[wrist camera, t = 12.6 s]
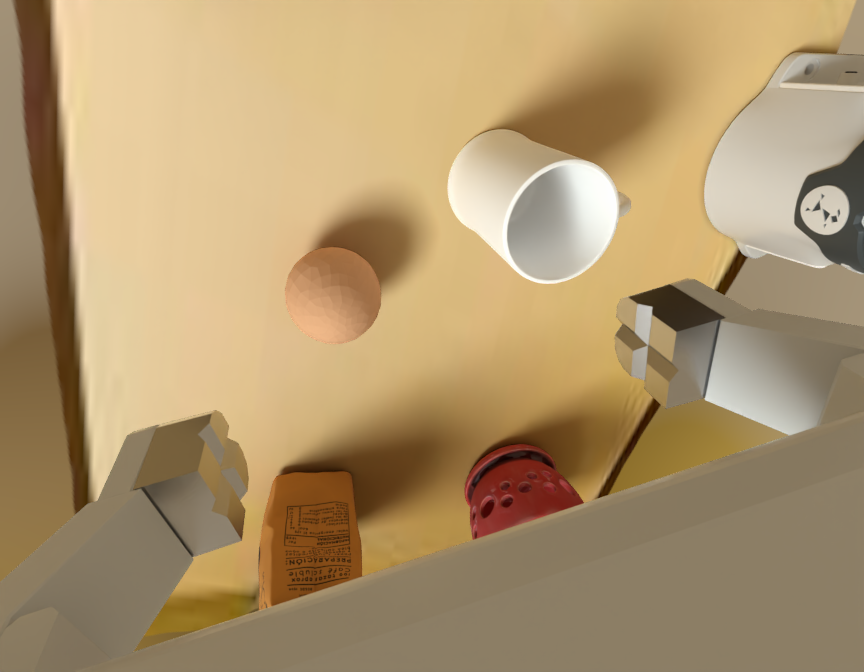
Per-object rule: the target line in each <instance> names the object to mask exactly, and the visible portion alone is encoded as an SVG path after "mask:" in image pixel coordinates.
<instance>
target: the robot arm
mask: <svg viewBox="0 0 864 672" xmlns="http://www.w3.org/2000/svg"><path fill="white" fill-rule="evenodd" d="M805 69H806V70H805ZM704 201H705V208H706V212H707V215H708V217H709V219H710V221H711V223H712V224H713V226H714V227H715V228H716V229H717V230H718V231H719V232H721V233H722V234H724V235H726V236H728V237H730V238H732V239H733V240H735V241H736V243H737V245H738V247H739V249H740V251H741V253H742V254H743V255H745V256H747V257H751V258H759V257H761V256H764V255H766V254H768V253H770V254H773V255H776V256H779V257H782V258H785V259H789V260H792V261H795V262H799V263H802V264H805V265H808V266H811V267H816V268H824V267H826V266H827V265H831V264H834V263H836V264H839V265H842V266H844V267H846V269H849V270H851V271H854V272H856V273H860V274H864V55H853V54H829V53H805V52H795V53H792V54H790V55H789V56H788V57H786V58H785V60H784V61H783V62H782V63H781V65H780V66H779V67H778V69H777V70H776V72H775V73H774V75H773V77H772V78H771V80H770V81H769V83H768V85H767V86H766V88H765V89H764V90H763V91H762V92H761V93H760V94H759V95H758V96H757V97H756V98H755V99H754V100H753V101H752V102H751V103H750V104H749V105H748V106H747V107H746V108H745V109H744V110H743V111H742V112H741V113H740V114H739V115H738V116H737V117H736V118H735V120H734V121H733V122H732V123H731V125H730V126H729V128H728V129H727V130H726V132H725V133H724V135H723V137H722V138H721V140H720V142H719V144H718V146H717V148H716V150H715V152H714V154H713V157H712V159H711V162H710V165H709V168H708V171H707V176H706V181H705V189H704ZM616 317H617V319H618V320H619V321H620V322H621V323H622V326H621V327H620V329H619V330H618V332H617V333H616V335H615V350H616V354H617V357H618V360H619V362H620V364H621V365H622V367H623V368H624V370H625V371H626V372H627V373H628V374H629V375H630V376H632V377H635V378H639V379H642V380H645V384H644V389H645V390H646V391H647V392H648V393H649V394H650V395H651V396H652V397H654V398H655V399H656V400H657V401H658V402H659V403H660V404H661V405H662V406H663V407H664V408H665V409H667V408H670V407H674V406H678V405H681V404H685V403H688V402H692V401H695V400H699V399H703V398H705V400H706V401H709V402H711V403H714V404H716V405H718V406H721V407H723V408H726V409H728V410H731V411H733V412H735V413H738V414H740V415H742V416H745V417H747V418H750V419H752V420H755V421H757V422H759V423H762V424H764V425H766V426H769V427H771V428H774V429H776V430H778V431H781V432H783V433H786V434H788V435H789V436H786V437H783V438H780V439H777V440H774V441H771V442H768V443H765V444H762V445H759V446H756V447H753V448H750V449H747V450H744V451H742V452H738V453H735V454H732V455H729V456H726V457H723V458H720V459H717V460H714V461H711V462H708V463H705V464H702V465H699V466H695V467H692V468H690V469H686V470H683V471H680V472H677V473H674V474H671V475H668V476H665V477H662V478H659V479H656V480H653V481H650V482H647V483H644V484H641V485H638V486H635V487H632V488H629V489H626V490H622V491H620V492H616V493H613V494H610V495H607V496H604V497H601V498H598V499H595V500H592V501H589V502H586V503H583V504H580V505H577V506H574V507H571V508H568V509H565V510H562V511H559V512H556V513H553V514H550V515H547V516H544V517H541V518H538V519H535V520H532V521H529V522H526V523H522V524H519V525H516V526H513V527H510V528H507V529H504V530H501V531H498V532H495V533H492V534H489V535H486V536H483V537H480V538H477V539H474V540H471V541H468V542H465V543H462V544H459V545H456V546H453V547H450V548H447V549H444V550H441V551H438V552H435V553H432V554H429V555H426V556H423V557H420V558H417V559H414V560H411V561H408V562H404V563H401V564H398V565H395V566H392V567H389V568H386V569H383V570H380V571H377V572H374V573H371V574H368V575H365V576H362V577H359V578H356V579H353V580H350V581H347V582H344V583H341V584H338V585H335V586H332V587H329V588H326V589H323V590H320V591H317V592H314V593H311V594H308V595H305V596H302V597H298V598H295V599H292V600H289V601H286V602H283V603H280V604H277V605H274V606H271V607H268V608H265V609H262V610H259V611H256V612H253V613H250V614H247V615H244V616H241V617H238V618H235V619H232V620H229V621H226V622H223V623H220V624H217V625H214V626H211V627H208V628H205V629H202V630H199V631H196V632H193V633H189V634H186V635H184V636H180V637H177V638H174V639H171V640H169V641H165V642H162V643H159V644H156V645H153V646H150V647H147V648H144V649H141V650H138V651H135V652H133V651H134V650H135V648H136V647H137V645H138V643H139V642H140V640H141V639H142V637H143V636H144V634H145V633H146V631H147V630H148V628H149V627H150V625H151V624H152V622H153V621H154V619H155V618H156V616H157V615H158V613H159V612H160V610H161V609H162V607H163V606H164V604H165V603H166V601H167V599H168V598H169V596H170V595H171V593H172V592H173V590H174V589H175V587H176V586H177V584H178V583H179V581H180V580H181V578H182V577H183V575H184V574H185V572H186V571H187V569H188V568H189V566H190V564H191V563H192V561H193V558H192V557H195V556H198V555H201V554H204V553H207V552H210V551H213V550H216V549H219V548H222V547H224V546H227V545H230V544H233V543H236V542H239V541H242V535H243V526H244V518H245V508H244V507H243V505H242V503H241V501H240V500H241V498H242V497H243V496H244V495H245V493H246V492H247V491H248V480H249V477H248V469H247V463H246V460H245V457H244V454H243V451H242V449H241V448H240V446H239V444H238V443H237V442H235V441H233V440H231V439H229V438H227V435H228V429H229V425H228V423H227V422H226V420H225V418H224V416H223V415H222V413H221V412H219V411H217V410H214V411H210V412H206V413H202V414H198V415H194V416H190V417H187V418H183V419H179V420H175V421H171V422H167V423H163V424H161V425H155V426H152V427H148V428H144V429H141V430H137V431H134V432H132V433H131V434H129V435H127V437H126V439H125V441H124V443H123V446H122V448H121V450H120V452H119V454H118V457H117V459H116V461H115V463H114V465H113V468H112V470H111V472H110V474H109V476H108V479H107V481H106V483H105V485H104V488H103V490H102V492H101V494H100V496H99V499H98V501H96V502H92V503H89V504H87V505H86V506H85V507H84V508H83V509H81V510H80V511H79V512H78V513H77V514H76V515H75V516H74V517H72V518H71V519H70V520H69V521H68V522H67V523H66V524H65V525H64V526H63V527H61V528H60V529H59V530H58V531H57V532H56V533H55V534H53V535H52V536H51V537H50V538H49V539H48V540H47V541H46V542H45V543H43V544H42V545H41V546H40V547H39V548H38V549H37V550H36V551H34V553H32V554H31V555H30V556H29V557H28V558H27V559H26V560H24V561H23V562H22V563H21V564H20V565H19V566H18V567H16V569H14V570H13V571H12V572H11V573H10V574H9V575H8V576H6V577H5V578H4V579H3V580H2V581H1V582H0V672H864V327H862V326H856V325H851V324H845V323H839V322H833V321H826V320H821V319H815V318H809V317H803V316H797V315H791V314H786V313H780V312H774V311H768V310H762V309H757V310H753V311H751V310H749V309H748V308H746V307H744V306H742V305H740V304H739V303H737V302H735V301H733V300H731V299H730V298H728V297H726V296H724V295H722V294H721V293H719V292H717V291H715V290H713V289H712V288H710V287H708V286H706V285H704V284H703V283H701V282H699V281H697V280H695V279H684V280H681V281H677V282H674V283H671V284H668V285H665V286H663V287H659V288H656V289H653V290H649V291H646V292H642V293H639V294H636V295H632V296H629V297H625V298H622V299H620V301H619V303H618V305H617V314H616Z"/></svg>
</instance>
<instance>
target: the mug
mask: <svg viewBox="0 0 864 672" xmlns="http://www.w3.org/2000/svg"><path fill="white" fill-rule="evenodd" d="M448 197H449V202H450V205H451V207H452V210H453V212H454V213H455V215H456V217H457V218H458V219H459V220H460V221H461V222H462V223H463V224H464V225H465V226H467V227H468V228H470V229H472V230H474V231H475V232H476V233H477V234H478V235H479V236H480V237H481V238H482V239H483V240H485V241H486V242H487V243H488V244H489V245H490V246H491V247H492V248H493V249H494V250H495V251H496V252H497V253H498V254H499V255H500V256H501V257H502V258H503V259H504V260H505V261H506V262H507V263H508V264H509V265H510V266H511V267H512V268H513V269H514V270H515V271H517V272H518V273H519V274H520V275H522V276H523V277H525V278H527V279H529V280H531V281H534V282H538V283H545V284H551V283H559V282H563V281H566V280H569V279H572V278H574V277H576V276H578V275H580V274H581V273H583V272H584V271H586V270H587V269H588V268H590V267H591V266H592V265H593V264H594V263H595V262H596V261H597V260H598V259H599V258H600V257H601V256H602V254H603V253H604V252H605V250H606V249H607V247H608V246H609V244H610V242H611V240H612V238H613V236H614V233H615V230H616V227H617V224H618V219H619V217H622V216H624V215H626V214H627V213H628V212H629V211H630V208H631V201H630V199H629V198H628V197H627V196H626V195H624V194H623V193H620V192H618V191H617V189H616V187H615V184H614V182H613V181H612V179H611V177H610V176H609V175H608V174H607V173H606V172H605V171H604V170H603V169H602V168H601V167H599V166H598V165H596V164H594V163H592V162H590V161H587V160H584V159H581V158H579V157H576V156H573V155H570V154H567V153H564V152H562V151H559V150H556V149H553V148H550V147H548V146H545V145H542V144H539V143H536V142H534V141H531V140H529V139H528V138H527V137H525V136H524V135H522V134H520V133H518V132H516V131H512V130H507V129H496V130H491V131H487V132H485V133H482V134H480V135H478V136H477V137H475V138H473V139H472V140H471V141H470V142H468V143H467V144H466V145H465V146H464V147H463V148H462V150H461V151H460V152H459V154H458V155H457V157H456V158H455V160H454V162H453V165H452V167H451V170H450V173H449V178H448Z"/></svg>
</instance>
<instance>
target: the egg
mask: <svg viewBox="0 0 864 672" xmlns="http://www.w3.org/2000/svg"><path fill="white" fill-rule="evenodd" d="M285 296H286V305H287V309H288V312H289V314H290V316H291V318H292V320H293V321H294V323H295V324H296V325H297V327H298V328H299V329H300V330H301V331H302V332H304V333H305V334H306V335H308V336H309V337H311V338H313V339H315V340H318V341H321V342H324V343H329V344H341V343H346V342H349V341H351V340H354V339H356V338H358V337H359V336H361V335H362V334H363V333H364V332H366V331H367V330H368V329H369V328H370V327H371V325H372V324H373V323H374V321H375V319H376V318H377V315H378V312H379V309H380V306H381V289H380V284H379V281H378V278H377V276H376V273H375V272H374V270H373V269H372V267H371V266H370V264H369V263H368V262H367V261H366V260H365V259H364V258H362V257H361V256H360V255H358V254H357V253H355V252H353V251H350V250H347V249H343V248H339V247H327V248H320V249H317V250H315V251H312V252H310V253H308V254H307V255H305V256H304V257H302V258H301V259H300V260H299V261H298V262H297V263H296V264H295V265H294V267H293V269H292V270H291V272H290V274H289V276H288V280H287V284H286V288H285Z"/></svg>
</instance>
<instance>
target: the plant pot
mask: <svg viewBox="0 0 864 672" xmlns="http://www.w3.org/2000/svg"><path fill="white" fill-rule="evenodd" d="M465 498H466V501H467V503H468V505H469V506H470V525H471V532H472V537H473V540H474V539H477V538H480V537H483V536H486V535H489V534H492V533H495V532H498V531H501V530H504V529H507V528H510V527H513V526H516V525H519V524H522V523H526V522H529V521H532V520H535V519H538V518H541V517H544V516H547V515H550V514H553V513H556V512H559V511H562V510H565V509H568V508H571V507H574V506H577V505H580V504H583V503H584V502H583V501H582V499H581V498H580V496H579V494H578V493H577V492H576V491H575V489H574V488H573V487H572V486H571V485H570V483H569V482H568V481H567V480H566V479H565V478H564V477H563V476H562V475H560V474H559V473H558V472H557V471H556V465H555V463H554V461H553V459H552V457H551V456H550V455H549V454H548V453H547V452H545V451H544V450H542V449H540V448H538V447H535V446H532V445H525V444H516V445H510V446H506V447H502V448H500V449H497V450H495V451H493V452H491V453H489V454H488V455H486V456H485V457H484V458H482V459H481V460H480V461H479V462H478V463H477V464H476V465H475V466H474V468H473V469H472V470H471V472H470V474H469V476H468V478H467V480H466V484H465Z"/></svg>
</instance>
